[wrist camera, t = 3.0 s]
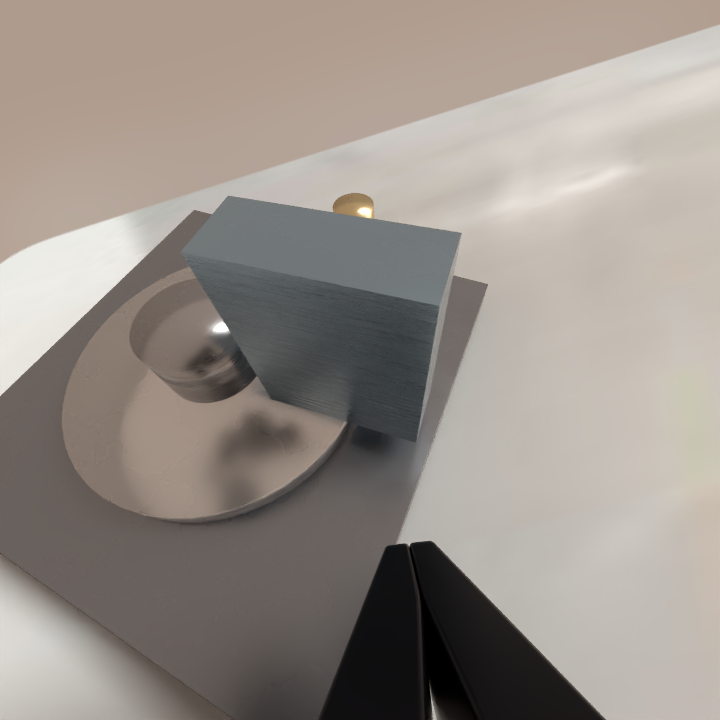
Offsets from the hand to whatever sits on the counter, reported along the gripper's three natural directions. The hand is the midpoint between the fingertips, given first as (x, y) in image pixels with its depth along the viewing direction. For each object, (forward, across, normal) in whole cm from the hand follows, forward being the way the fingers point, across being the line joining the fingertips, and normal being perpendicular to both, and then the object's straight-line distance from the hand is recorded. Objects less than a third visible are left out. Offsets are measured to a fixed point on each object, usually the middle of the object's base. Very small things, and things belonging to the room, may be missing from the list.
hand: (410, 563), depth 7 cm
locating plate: (+11, +6, -1) cm, 13 cm away
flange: (+9, +5, -1) cm, 11 cm away
